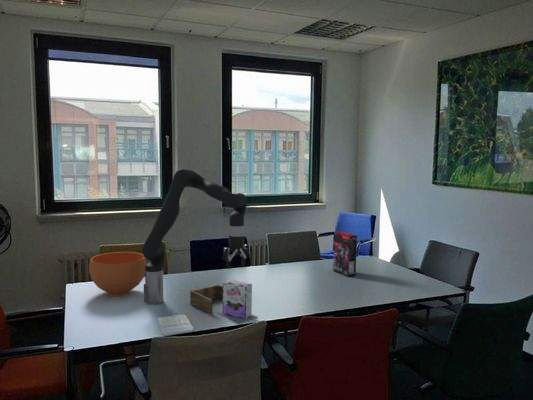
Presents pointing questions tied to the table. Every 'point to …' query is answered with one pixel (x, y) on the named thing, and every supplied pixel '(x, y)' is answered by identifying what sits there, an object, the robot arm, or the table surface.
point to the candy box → (237, 298)
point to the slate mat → (237, 318)
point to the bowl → (117, 272)
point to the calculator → (175, 324)
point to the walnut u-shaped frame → (206, 297)
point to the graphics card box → (345, 253)
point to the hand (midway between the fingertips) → (235, 267)
